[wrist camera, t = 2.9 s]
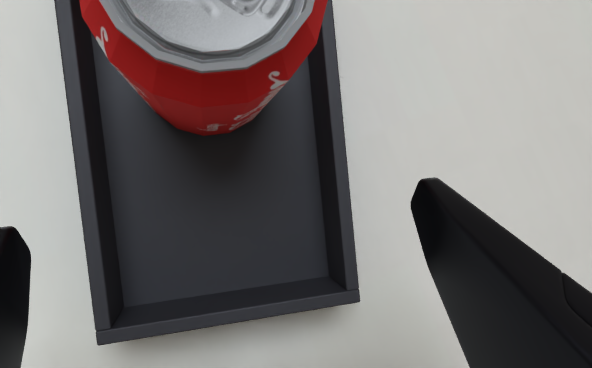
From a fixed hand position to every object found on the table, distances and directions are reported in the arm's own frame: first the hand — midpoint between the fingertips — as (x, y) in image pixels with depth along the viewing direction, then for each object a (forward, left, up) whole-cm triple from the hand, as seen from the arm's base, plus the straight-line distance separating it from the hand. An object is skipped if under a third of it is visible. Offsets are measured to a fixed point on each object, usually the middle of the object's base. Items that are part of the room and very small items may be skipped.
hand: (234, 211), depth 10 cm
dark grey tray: (+2, +1, -12) cm, 12 cm away
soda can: (+5, +3, -12) cm, 13 cm away
